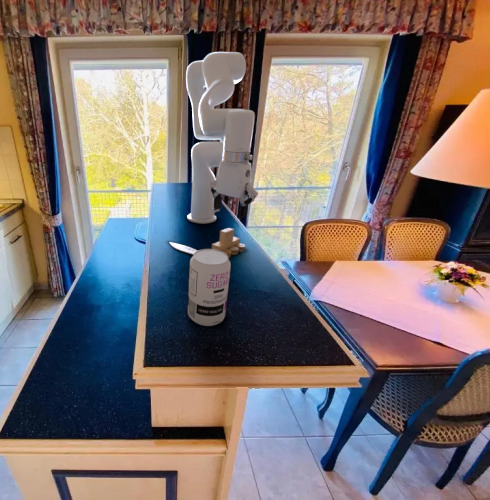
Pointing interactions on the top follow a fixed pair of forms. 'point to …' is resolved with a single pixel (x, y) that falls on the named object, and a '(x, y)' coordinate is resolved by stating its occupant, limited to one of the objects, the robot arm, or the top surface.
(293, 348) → the top surface
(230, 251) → the crumb
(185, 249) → the knife
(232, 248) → the crumb middle
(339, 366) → the top surface
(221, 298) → the supplement can
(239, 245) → the crumb
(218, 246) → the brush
